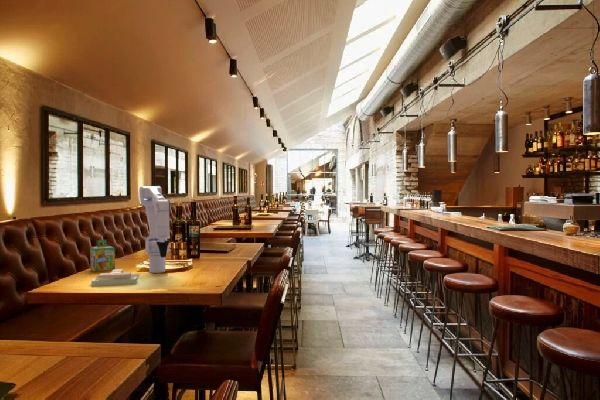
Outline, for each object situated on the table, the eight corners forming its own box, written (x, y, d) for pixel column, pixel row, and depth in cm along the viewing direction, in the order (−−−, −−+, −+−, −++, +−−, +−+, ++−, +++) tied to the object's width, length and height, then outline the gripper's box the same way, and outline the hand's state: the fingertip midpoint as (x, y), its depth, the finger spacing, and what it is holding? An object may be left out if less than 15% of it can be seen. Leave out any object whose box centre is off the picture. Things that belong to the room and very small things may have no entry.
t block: (103, 279, 204) (103, 270, 204) (132, 277, 207) (132, 268, 207) (98, 285, 192) (98, 275, 192) (130, 283, 195) (129, 273, 195)
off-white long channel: (93, 283, 195) (93, 278, 195) (137, 281, 200) (136, 276, 200) (91, 286, 191) (91, 281, 190) (136, 283, 195) (135, 278, 195)
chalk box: (96, 273, 222) (95, 242, 222) (89, 270, 229) (89, 240, 229) (115, 270, 228) (115, 240, 228) (109, 268, 235) (108, 238, 235)
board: (97, 277, 212) (97, 275, 212) (140, 275, 216) (140, 273, 216) (89, 288, 190) (89, 286, 190) (136, 286, 195) (136, 283, 195)
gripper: (154, 225, 217) (155, 255, 217) (152, 228, 203) (152, 259, 203) (170, 225, 218) (171, 254, 219) (169, 227, 204) (169, 258, 204)
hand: (163, 257), depth 211 cm, fingers closed
